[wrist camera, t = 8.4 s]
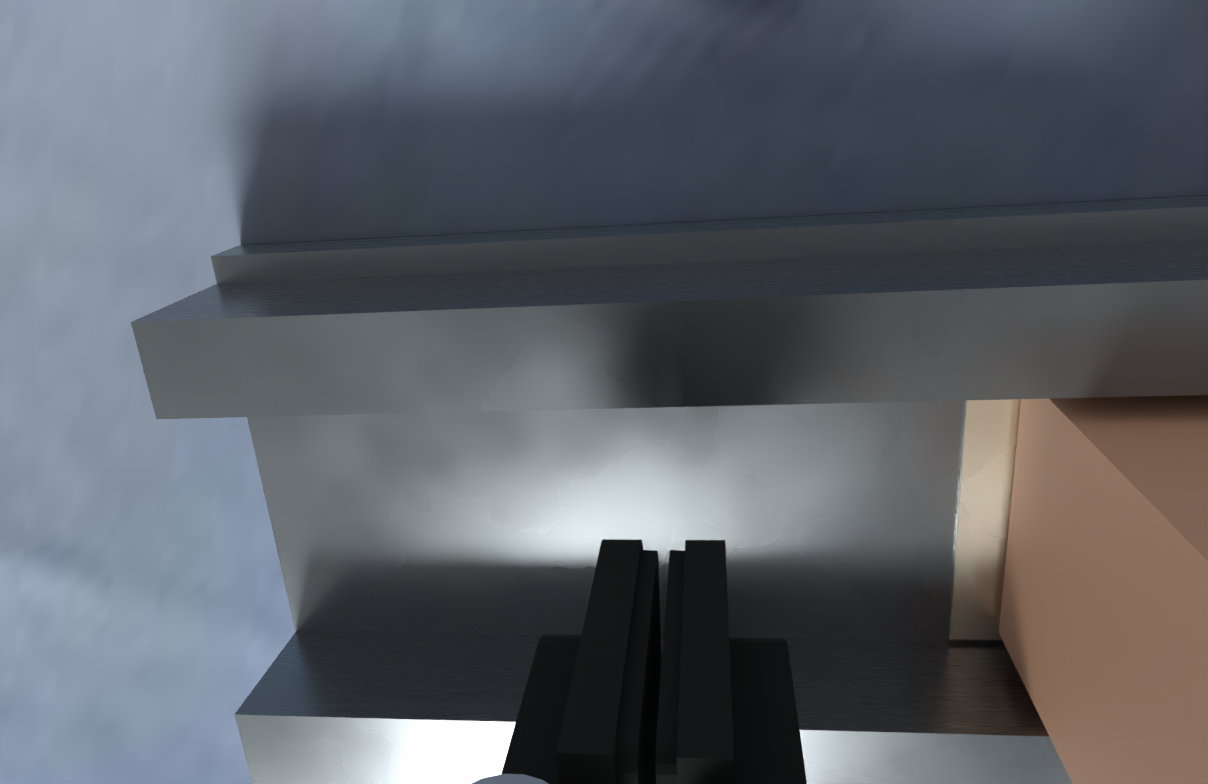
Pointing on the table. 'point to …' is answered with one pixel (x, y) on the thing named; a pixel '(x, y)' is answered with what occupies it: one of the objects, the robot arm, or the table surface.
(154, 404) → the chute
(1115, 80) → the table surface
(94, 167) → the table surface
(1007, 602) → the block
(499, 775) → the robot arm
